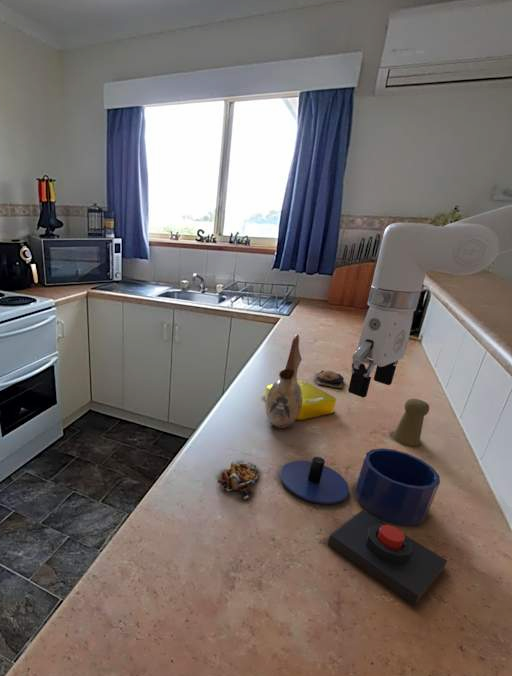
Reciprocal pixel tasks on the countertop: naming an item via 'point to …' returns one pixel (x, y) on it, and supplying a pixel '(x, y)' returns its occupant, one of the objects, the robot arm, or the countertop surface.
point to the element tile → (313, 401)
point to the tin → (396, 486)
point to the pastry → (239, 478)
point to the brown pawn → (411, 422)
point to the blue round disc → (314, 481)
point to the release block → (388, 557)
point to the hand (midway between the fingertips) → (369, 388)
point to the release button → (391, 537)
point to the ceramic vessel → (286, 392)
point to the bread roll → (330, 379)
